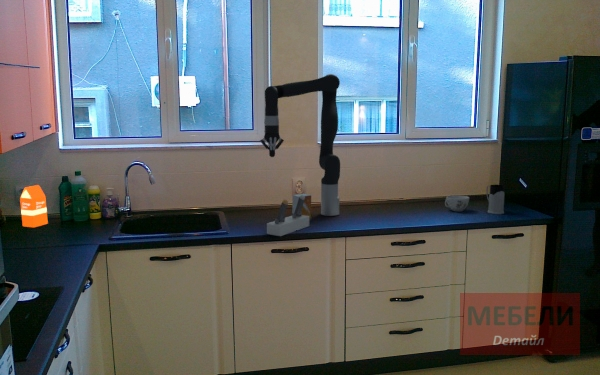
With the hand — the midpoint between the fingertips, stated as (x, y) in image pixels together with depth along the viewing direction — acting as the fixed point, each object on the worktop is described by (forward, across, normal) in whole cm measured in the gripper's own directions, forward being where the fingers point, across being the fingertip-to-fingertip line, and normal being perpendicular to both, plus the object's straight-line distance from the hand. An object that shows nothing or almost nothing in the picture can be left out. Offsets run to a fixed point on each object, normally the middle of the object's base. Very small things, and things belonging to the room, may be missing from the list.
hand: (272, 156), depth 279 cm
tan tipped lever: (+26, -7, -37) cm, 46 cm away
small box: (+32, +12, -14) cm, 37 cm away
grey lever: (+27, +4, -29) cm, 39 cm away
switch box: (+32, -1, -33) cm, 46 cm away
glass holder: (+32, +120, -30) cm, 128 cm away
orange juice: (+32, -120, +18) cm, 126 cm away
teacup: (+32, +101, -22) cm, 108 cm away
